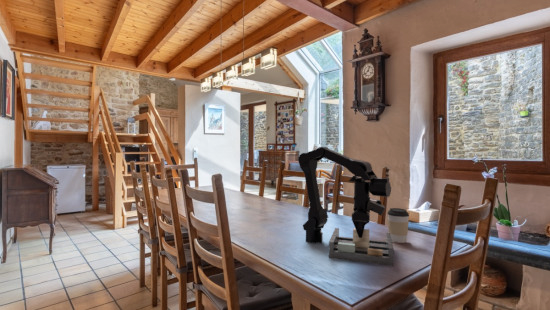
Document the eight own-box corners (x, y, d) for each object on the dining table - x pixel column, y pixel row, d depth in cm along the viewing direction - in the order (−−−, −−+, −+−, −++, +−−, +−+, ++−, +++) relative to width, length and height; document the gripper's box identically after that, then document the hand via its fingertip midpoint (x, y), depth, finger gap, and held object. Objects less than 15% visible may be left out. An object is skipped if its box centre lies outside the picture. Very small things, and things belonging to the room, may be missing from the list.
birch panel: (352, 252, 114) (353, 229, 114) (353, 250, 116) (353, 228, 116) (369, 254, 112) (369, 230, 112) (369, 252, 114) (369, 229, 114)
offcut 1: (337, 257, 109) (337, 243, 109) (338, 255, 111) (338, 242, 111) (354, 259, 107) (354, 245, 107) (354, 257, 109) (355, 243, 109)
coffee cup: (407, 240, 133) (407, 207, 133) (410, 246, 125) (411, 211, 124) (385, 238, 136) (386, 206, 136) (387, 244, 127) (388, 210, 127)
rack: (328, 260, 108) (329, 241, 108) (335, 244, 127) (335, 228, 127) (393, 268, 101) (393, 248, 101) (389, 250, 120) (390, 233, 120)
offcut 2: (367, 260, 106) (367, 249, 106) (367, 258, 108) (367, 247, 107) (382, 262, 104) (382, 251, 104) (382, 260, 106) (382, 249, 106)
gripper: (385, 199, 102) (384, 244, 103) (383, 192, 120) (382, 230, 120) (352, 197, 106) (351, 240, 106) (354, 190, 123) (353, 227, 124)
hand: (360, 234), depth 114 cm, fingers open, 9 cm apart
